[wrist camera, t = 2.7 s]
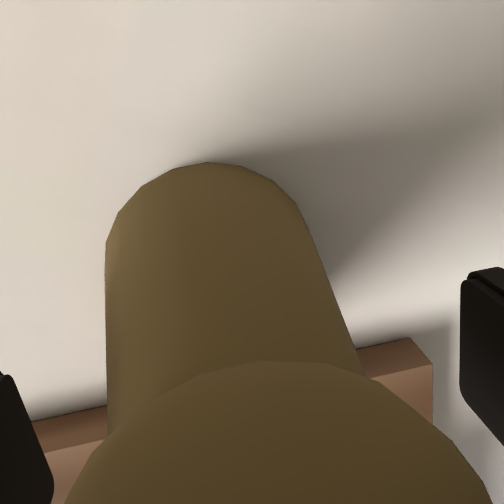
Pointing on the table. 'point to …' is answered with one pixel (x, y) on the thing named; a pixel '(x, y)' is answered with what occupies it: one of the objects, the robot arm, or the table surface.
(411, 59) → the table surface
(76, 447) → the brown board
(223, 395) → the olive pawn
